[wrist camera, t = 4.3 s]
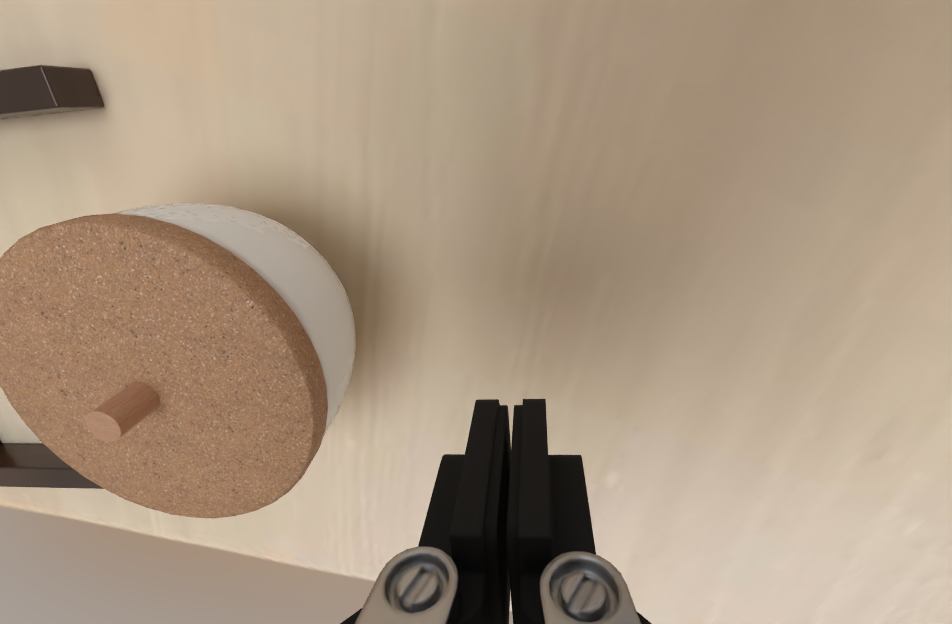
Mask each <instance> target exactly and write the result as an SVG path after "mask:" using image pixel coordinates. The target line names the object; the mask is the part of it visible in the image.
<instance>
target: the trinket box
mask: <svg viewBox="0 0 952 624" xmlns="http://www.w3.org/2000/svg"><path fill="white" fill-rule="evenodd" d="M355 351H356V341H355V322H354V318H353V313H352V308H351V305H350V302H349V300H348V297H347V294H346V292H345V289H344V288H343V286H342V284H341V282H340V280H339V279H338V277H337V275H336V273H335V272H334V271H333V269H332V268H331V267H330V265H329V264H328V263H327V261H326V260H325V259H324V258H323V257H322V256H321V255H320V254H319V253H318V252H317V251H316V250H315V248H314V247H313V246H312V245H311V244H309V243H308V242H307V241H306V240H304V239H303V238H302V237H300V236H299V235H298V234H297V233H295V232H294V231H292V230H290V229H289V228H287V227H285V226H284V225H282V224H280V223H279V222H277V221H274V220H272V219H269V218H267V217H265V216H262V215H260V214H257V213H253V212H250V211H247V210H243V209H239V208H235V207H231V206H225V205H215V204H201V203H182V204H168V205H156V206H146V207H141V208H136V209H131V210H126V211H121V212H117V213H114V214H103V215H90V216H83V217H79V218H75V219H71V220H67V221H63V222H60V223H56V224H53V225H49V226H45V227H42V228H39V229H37V230H36V231H34V232H32V233H30V234H28V235H26V236H24V237H22V238H21V239H19V240H18V241H17V242H16V243H15V244H14V245H13V246H12V247H11V248H9V249H8V250H7V251H6V252H5V253H4V254H3V256H2V257H1V259H0V386H1V388H2V389H3V391H4V393H5V395H6V396H7V398H8V400H9V402H10V403H11V405H12V406H13V408H14V409H15V410H16V412H17V413H18V414H19V416H20V417H21V418H22V420H23V421H24V422H25V423H26V425H27V426H28V427H29V428H30V429H31V430H32V431H33V433H34V434H35V435H36V436H37V437H38V438H39V439H40V440H41V441H42V443H43V444H44V445H46V446H47V447H48V448H49V449H50V450H51V451H52V452H54V453H55V454H56V455H57V456H58V457H59V458H60V459H61V460H63V461H64V462H65V463H67V464H68V465H69V466H71V467H72V468H73V469H74V470H76V471H77V472H78V473H80V474H81V475H82V476H84V477H86V478H87V479H89V480H91V481H92V482H94V483H96V484H97V485H99V486H101V487H102V488H104V489H106V490H108V491H110V492H112V493H114V494H116V495H118V496H120V497H122V498H124V499H126V500H128V501H131V502H134V503H136V504H139V505H142V506H145V507H147V508H151V509H154V510H158V511H161V512H165V513H169V514H173V515H180V516H187V517H198V518H220V517H229V516H236V515H240V514H244V513H248V512H253V511H255V510H258V509H260V508H262V507H264V506H267V505H269V504H271V503H273V502H275V501H276V500H278V499H279V498H280V497H282V496H283V495H285V494H286V493H288V492H289V491H290V490H291V489H292V488H293V487H294V485H295V484H296V483H297V482H298V481H299V480H300V479H301V478H302V476H303V475H304V473H305V471H306V470H307V468H308V466H309V465H310V463H311V461H312V460H313V458H314V456H315V455H316V453H317V451H318V449H319V447H320V445H321V442H322V439H323V436H324V435H325V433H326V431H327V429H328V428H329V426H330V424H331V422H332V421H333V419H334V417H335V415H336V414H337V412H338V410H339V408H340V405H341V403H342V400H343V398H344V396H345V393H346V390H347V387H348V384H349V381H350V378H351V374H352V370H353V365H354V359H355Z"/></svg>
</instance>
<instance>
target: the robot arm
mask: <svg viewBox="0 0 952 624" xmlns="http://www.w3.org/2000/svg"><path fill="white" fill-rule="evenodd" d="M510 589H511V601H512V613H513V624H651V623H650V622H649V621H648V620H646V619H645V618H644V617H643V616H642V615H640V614H639V613H638V612H637V611H636V609H635V606H634V603H633V600H632V598H631V595H630V592H629V590H628V587H627V584H626V582H625V581H624V579H623V577H622V575H621V573H620V572H619V571H618V570H617V569H616V568H615V567H614V566H613V565H612V564H611V563H610V562H609V561H607V560H605V559H604V558H602V557H600V556H598V555H596V552H595V545H594V538H593V531H592V524H591V517H590V510H589V503H588V497H587V490H586V483H585V476H584V469H583V462H582V457H581V455H548V444H547V422H546V401H545V399H523V405H514V416H513V432H512V448H511V443H510V430H509V416H508V406H507V405H500V404H499V400H498V399H496V400H476V402H475V407H474V412H473V417H472V422H471V427H470V432H469V437H468V442H467V447H466V452H465V455H451V454H444V456H443V457H442V460H441V463H440V467H439V470H438V474H437V478H436V482H435V486H434V489H433V493H432V497H431V501H430V504H429V508H428V512H427V516H426V519H425V523H424V527H423V531H422V534H421V538H420V542H419V546H418V547H415V548H410V549H407V550H405V551H403V552H401V553H399V554H397V555H396V556H395V557H393V558H392V559H391V560H390V561H389V562H388V563H387V564H386V565H385V567H384V568H383V570H382V571H381V572H380V574H379V576H378V578H377V580H376V582H375V584H374V586H373V588H372V590H371V592H370V594H369V596H368V598H367V600H366V602H365V604H364V606H363V608H362V609H360V610H359V611H357V612H356V613H355V614H353V615H352V616H350V617H349V618H348V619H346V620H345V621H343V622H342V623H341V624H509V607H510Z"/></svg>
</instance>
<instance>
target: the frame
mask: <svg viewBox="0 0 952 624" xmlns="http://www.w3.org/2000/svg"><path fill="white" fill-rule="evenodd" d="M102 107H103V103H102V101H101V98H100V95H99V93H98V90H97V87H96V85H95V82H94V80H93V77H92V74H91V72H90V70H89V69H84V68H72V67H60V66H47V65H38V66H30V67H22V68H14V69H7V70H0V119H7V118H16V117H24V116H33V115H42V114H51V113H60V112H69V111H78V110H87V109H96V108H102ZM0 486H6V487H51V488H96V489H104V488H102V487H101V486H99V485H97V484H96V483H94V482H92V481H91V480H89V479H87V478H86V477H84V476H82V475H81V474H80V473H78V472H77V471H76V470H74V469H73V468H72V467H71V466H69V465H68V464H67V463H65V462H64V461H63V460H61V459H60V458H59V457H58V456H57V455H56V454H55V453H54V452H52V451H51V450H50V449H49V448H48V447H47V446H46V445H44V444H0Z"/></svg>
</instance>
